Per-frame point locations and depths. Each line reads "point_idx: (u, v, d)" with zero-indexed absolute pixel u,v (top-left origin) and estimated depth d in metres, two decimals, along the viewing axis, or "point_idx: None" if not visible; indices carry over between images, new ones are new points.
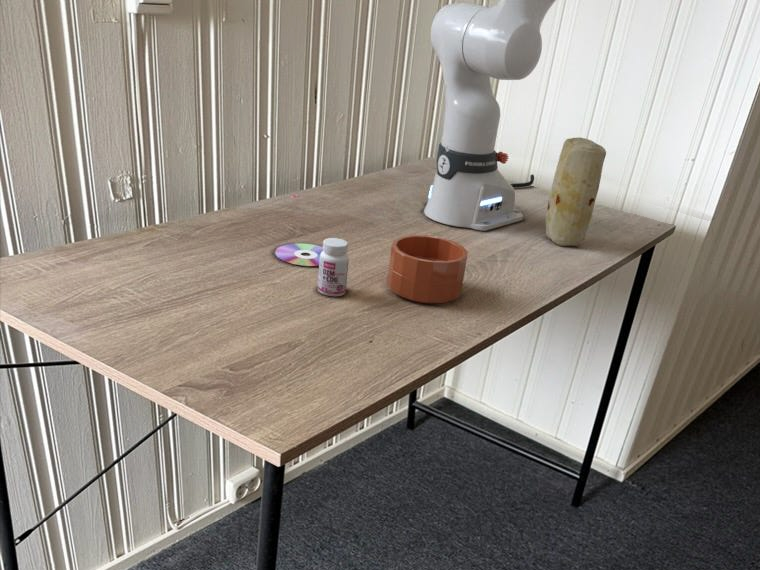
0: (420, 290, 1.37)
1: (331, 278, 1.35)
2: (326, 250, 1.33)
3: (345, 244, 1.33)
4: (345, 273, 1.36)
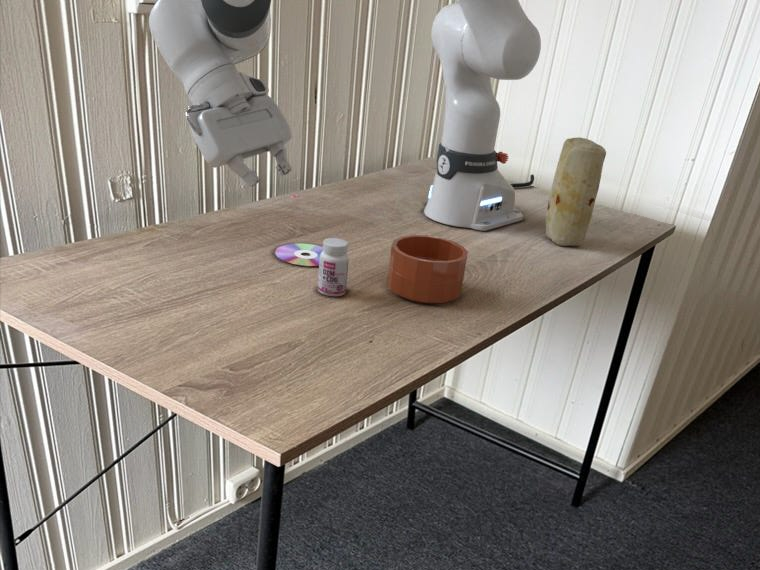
0: (420, 290, 1.37)
1: (331, 278, 1.35)
2: (326, 250, 1.33)
3: (345, 244, 1.33)
4: (345, 273, 1.36)
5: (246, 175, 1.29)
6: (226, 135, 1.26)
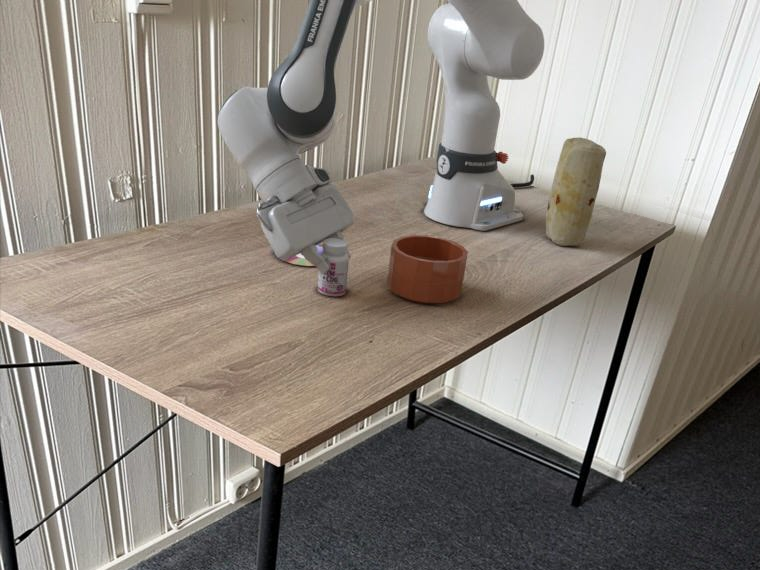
0: (420, 290, 1.37)
1: (331, 278, 1.35)
2: (326, 250, 1.33)
3: (345, 244, 1.33)
4: (345, 273, 1.36)
5: (319, 263, 1.33)
6: (295, 229, 1.28)
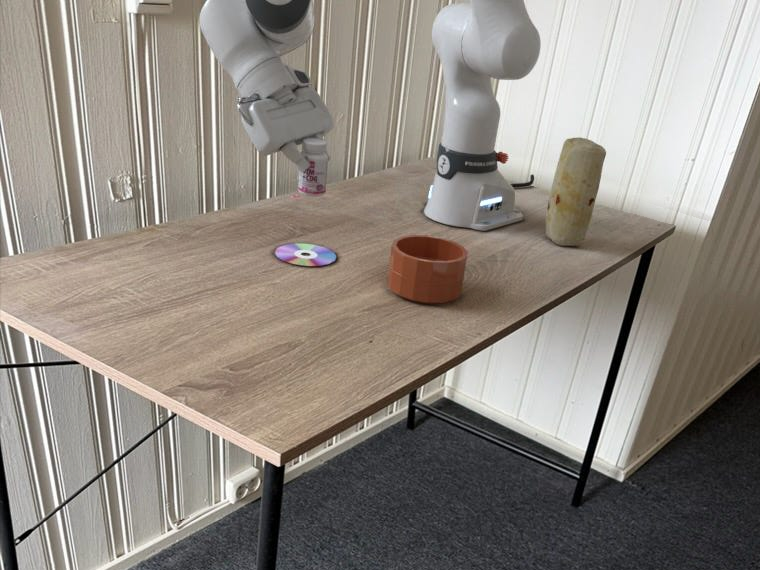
0: (420, 290, 1.37)
1: (310, 177, 1.39)
2: (306, 148, 1.37)
3: (324, 143, 1.37)
4: (324, 173, 1.40)
5: (299, 161, 1.37)
6: (275, 124, 1.32)
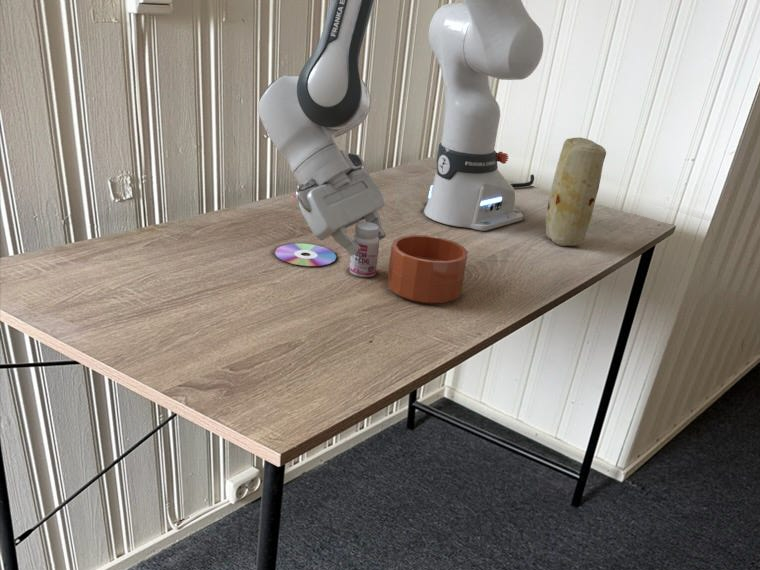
0: (420, 290, 1.37)
1: (363, 260, 1.43)
2: (359, 233, 1.41)
3: (376, 227, 1.42)
4: (376, 255, 1.44)
5: (349, 245, 1.40)
6: (332, 210, 1.36)
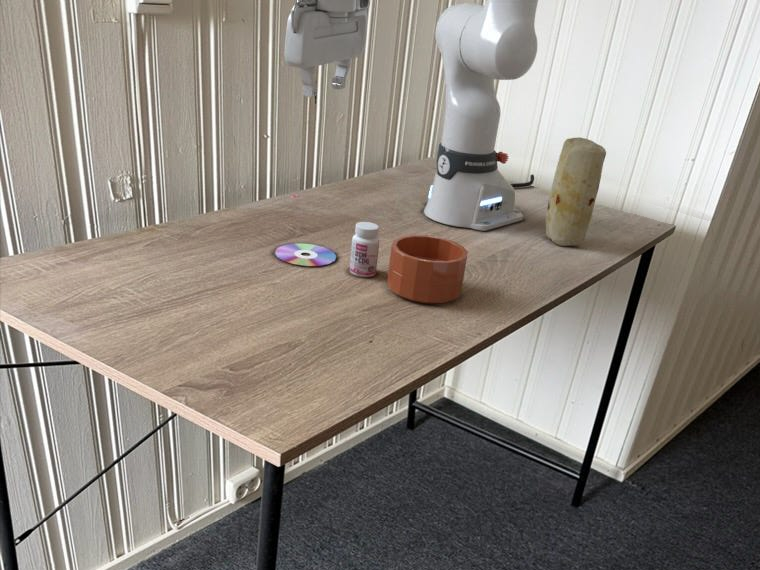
0: (420, 290, 1.37)
1: (363, 260, 1.43)
2: (358, 233, 1.41)
3: (376, 227, 1.42)
4: (376, 255, 1.44)
5: (308, 85, 1.33)
6: (314, 45, 1.28)
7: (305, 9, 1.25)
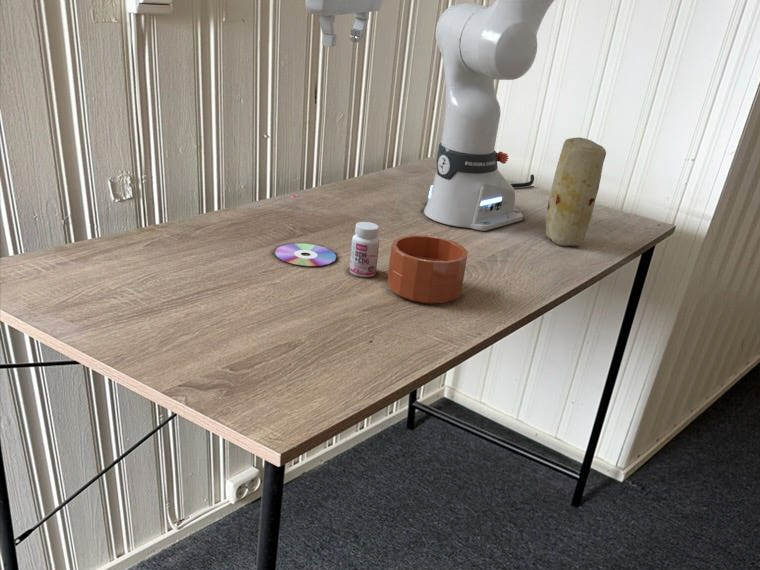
0: (420, 290, 1.37)
1: (363, 260, 1.43)
2: (358, 233, 1.41)
3: (376, 227, 1.42)
4: (376, 255, 1.44)
5: (327, 35, 1.35)
6: None
7: None
